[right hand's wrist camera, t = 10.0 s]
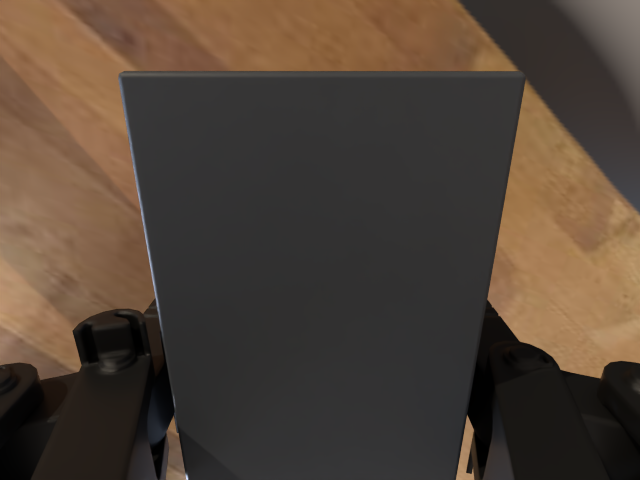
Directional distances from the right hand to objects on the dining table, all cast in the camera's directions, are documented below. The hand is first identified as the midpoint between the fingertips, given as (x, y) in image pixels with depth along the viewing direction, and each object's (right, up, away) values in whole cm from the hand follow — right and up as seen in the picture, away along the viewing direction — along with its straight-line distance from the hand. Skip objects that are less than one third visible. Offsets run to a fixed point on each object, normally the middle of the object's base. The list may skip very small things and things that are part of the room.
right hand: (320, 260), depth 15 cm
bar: (0, -19, +8) cm, 20 cm away
